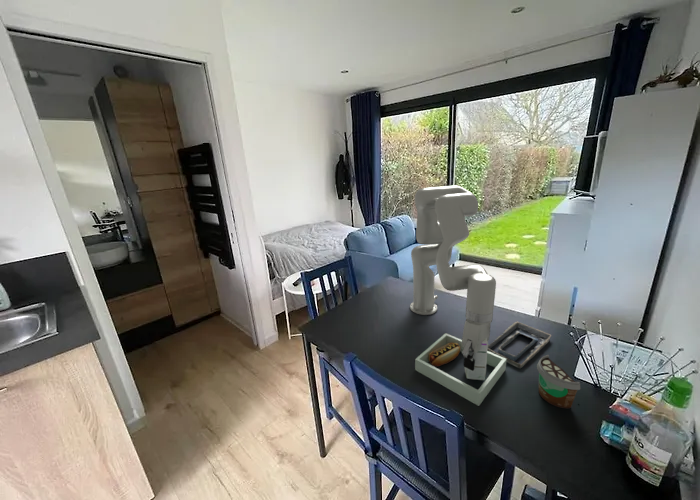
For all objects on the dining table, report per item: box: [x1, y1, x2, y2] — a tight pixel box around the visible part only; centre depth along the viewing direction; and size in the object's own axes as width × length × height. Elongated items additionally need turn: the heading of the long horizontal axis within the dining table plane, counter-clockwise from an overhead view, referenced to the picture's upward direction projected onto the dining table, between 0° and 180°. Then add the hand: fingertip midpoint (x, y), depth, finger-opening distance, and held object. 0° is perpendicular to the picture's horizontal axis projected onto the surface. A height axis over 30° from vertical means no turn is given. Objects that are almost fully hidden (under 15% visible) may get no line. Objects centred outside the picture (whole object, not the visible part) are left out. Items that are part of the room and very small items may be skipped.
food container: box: [536, 354, 581, 409], centre depth 84 cm, size 12×6×10 cm, turn 5°
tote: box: [414, 333, 507, 407], centre depth 97 cm, size 20×22×4 cm
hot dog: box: [428, 343, 461, 367], centre depth 102 cm, size 5×13×5 cm, turn 120°
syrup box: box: [463, 339, 489, 381], centre depth 92 cm, size 6×6×14 cm
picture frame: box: [487, 321, 552, 369], centre depth 107 cm, size 13×25×3 cm, turn 127°
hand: (475, 361), depth 92 cm, fingers closed on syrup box, 7 cm apart
